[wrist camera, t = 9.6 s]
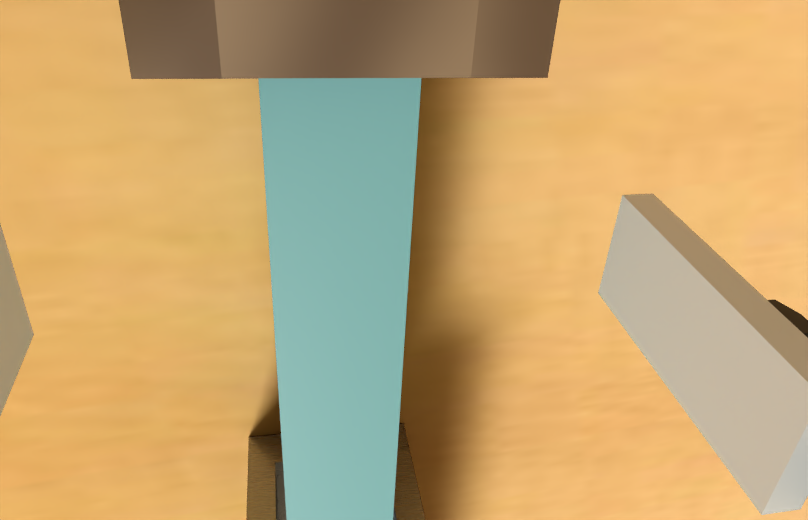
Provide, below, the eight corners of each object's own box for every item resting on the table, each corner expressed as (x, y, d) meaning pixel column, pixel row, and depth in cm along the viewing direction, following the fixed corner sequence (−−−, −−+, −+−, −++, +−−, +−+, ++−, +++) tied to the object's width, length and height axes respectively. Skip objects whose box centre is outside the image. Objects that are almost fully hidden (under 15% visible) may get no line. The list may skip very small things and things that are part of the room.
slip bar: (289, 513, 33) (292, 614, 29) (252, -100, 19) (248, -77, 15) (372, 504, 33) (387, 601, 29) (395, -95, 20) (431, -71, 15)
